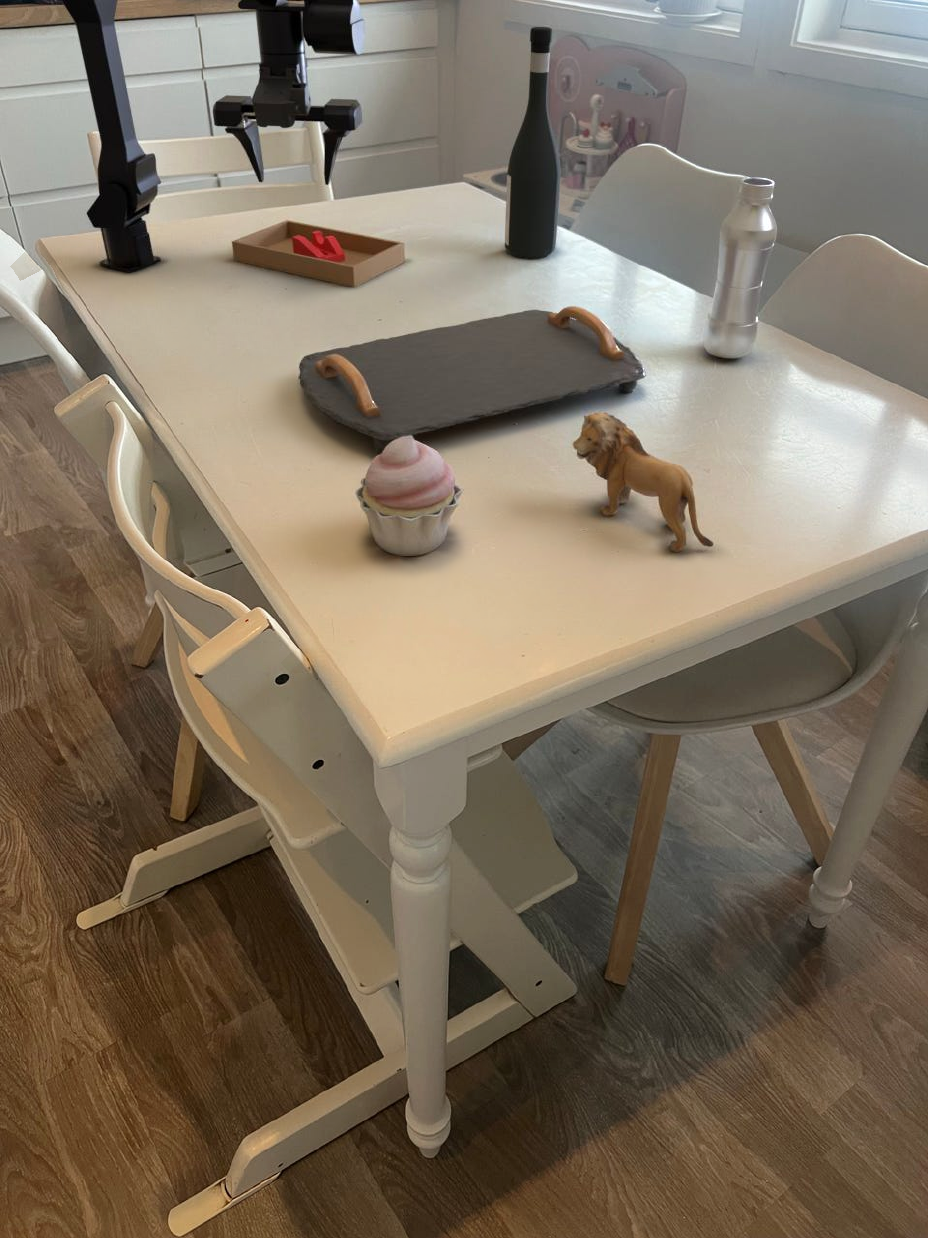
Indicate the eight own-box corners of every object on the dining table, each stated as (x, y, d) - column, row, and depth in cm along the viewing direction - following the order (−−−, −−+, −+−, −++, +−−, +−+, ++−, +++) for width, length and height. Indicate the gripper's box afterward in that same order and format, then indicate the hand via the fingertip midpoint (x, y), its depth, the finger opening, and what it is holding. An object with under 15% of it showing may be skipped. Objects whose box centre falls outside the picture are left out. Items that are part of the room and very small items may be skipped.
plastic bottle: (757, 348, 120) (793, 178, 107) (746, 368, 115) (782, 192, 103) (706, 340, 122) (735, 171, 110) (693, 359, 117) (722, 185, 105)
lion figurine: (558, 505, 90) (566, 417, 84) (590, 483, 93) (599, 397, 87) (697, 563, 82) (715, 471, 77) (726, 538, 86) (746, 448, 80)
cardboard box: (234, 260, 145) (231, 241, 143) (288, 237, 154) (287, 219, 152) (354, 287, 136) (353, 267, 134) (404, 261, 145) (404, 242, 143)
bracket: (294, 257, 145) (292, 236, 143) (319, 250, 148) (318, 230, 146) (319, 267, 141) (317, 246, 140) (345, 260, 144) (343, 240, 142)
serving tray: (359, 471, 94) (355, 413, 91) (276, 383, 110) (269, 331, 106) (667, 391, 110) (675, 339, 106) (555, 324, 125) (559, 277, 122)
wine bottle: (494, 253, 149) (501, 27, 130) (521, 240, 154) (531, 22, 135) (538, 263, 145) (552, 33, 126) (564, 250, 150) (581, 26, 132)
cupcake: (467, 565, 82) (469, 461, 76) (357, 569, 81) (350, 465, 75) (459, 508, 89) (460, 409, 83) (358, 511, 88) (352, 412, 82)
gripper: (190, 59, 116) (210, 195, 125) (342, 63, 114) (350, 201, 124) (218, 45, 124) (234, 174, 134) (359, 50, 123) (365, 179, 133)
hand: (294, 182), depth 131 cm, fingers open, 9 cm apart
